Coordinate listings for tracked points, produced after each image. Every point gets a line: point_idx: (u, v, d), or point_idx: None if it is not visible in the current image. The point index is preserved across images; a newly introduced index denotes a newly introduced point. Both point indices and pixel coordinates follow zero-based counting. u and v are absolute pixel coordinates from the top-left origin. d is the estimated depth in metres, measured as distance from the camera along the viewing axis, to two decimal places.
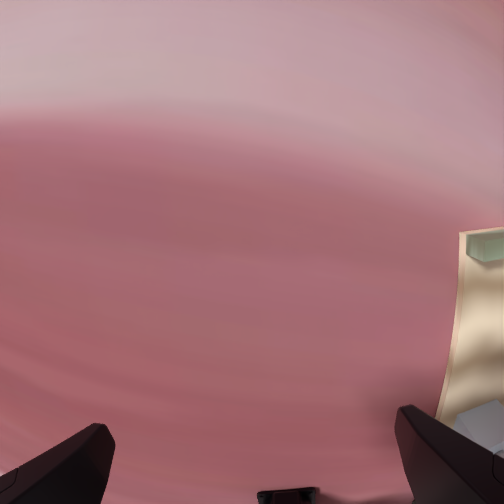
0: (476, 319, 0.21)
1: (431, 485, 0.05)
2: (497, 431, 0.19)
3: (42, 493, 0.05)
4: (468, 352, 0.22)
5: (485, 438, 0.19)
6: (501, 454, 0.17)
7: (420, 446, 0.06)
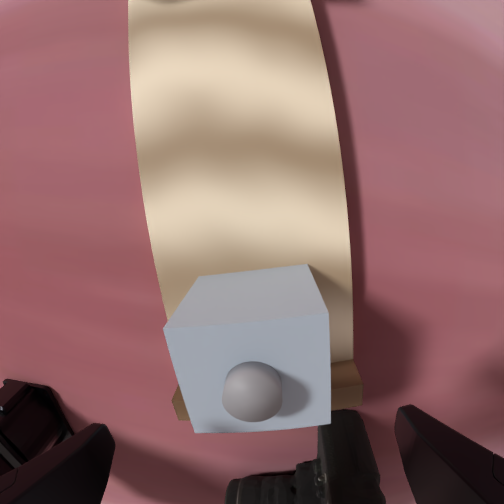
0: (162, 67, 0.14)
1: (431, 485, 0.05)
2: (247, 304, 0.12)
3: (42, 493, 0.05)
4: (162, 125, 0.14)
5: (202, 310, 0.12)
6: (249, 370, 0.10)
7: (420, 446, 0.06)
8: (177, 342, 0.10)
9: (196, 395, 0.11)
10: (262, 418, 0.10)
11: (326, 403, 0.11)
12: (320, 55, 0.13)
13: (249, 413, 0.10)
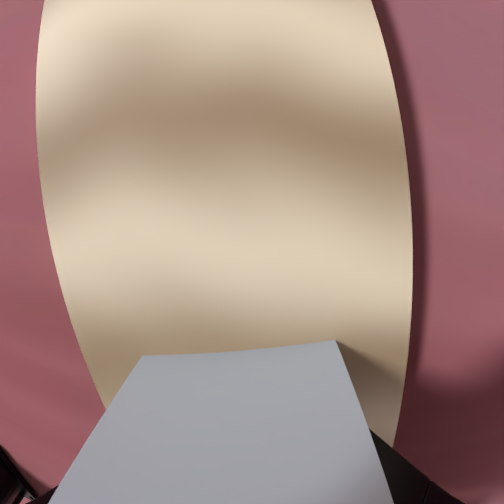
0: (86, 1, 0.06)
1: None
2: (212, 483, 0.04)
3: None
4: (75, 90, 0.07)
5: (117, 479, 0.04)
6: None
7: None
8: None
9: None
10: None
11: None
12: None
13: None
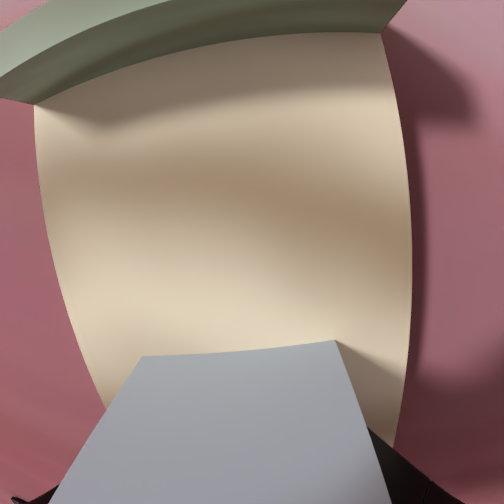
0: (111, 290, 0.08)
1: None
2: (210, 484, 0.04)
3: None
4: None
5: (116, 480, 0.04)
6: None
7: None
8: None
9: None
10: None
11: None
12: (406, 277, 0.08)
13: None
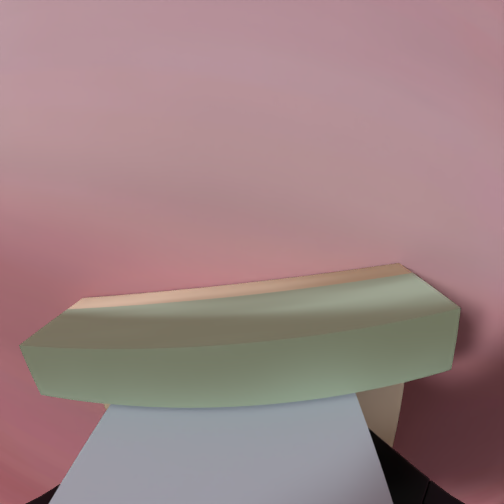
0: None
1: None
2: (212, 483, 0.04)
3: None
4: None
5: (118, 480, 0.04)
6: None
7: None
8: None
9: None
10: None
11: None
12: None
13: None
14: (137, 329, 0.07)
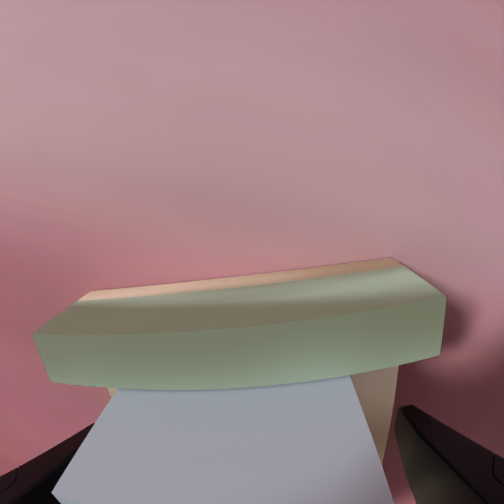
0: None
1: (431, 485, 0.05)
2: (215, 455, 0.05)
3: (42, 493, 0.05)
4: None
5: (126, 455, 0.05)
6: None
7: (420, 446, 0.06)
8: None
9: None
10: None
11: None
12: (380, 455, 0.10)
13: None
14: (145, 317, 0.07)
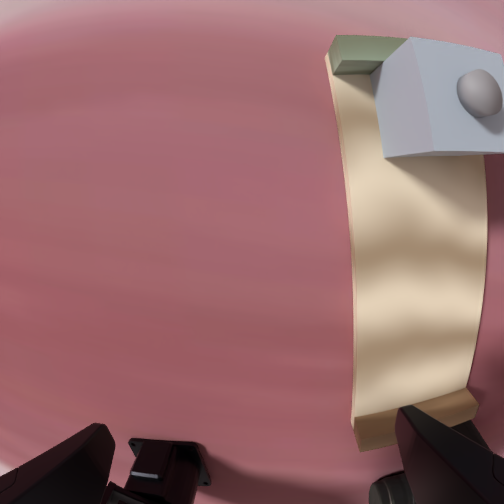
0: (379, 173, 0.17)
1: (431, 485, 0.05)
2: None
3: (42, 493, 0.05)
4: (379, 229, 0.17)
5: None
6: None
7: (420, 446, 0.06)
8: (421, 49, 0.09)
9: (437, 101, 0.10)
10: (492, 114, 0.09)
11: None
12: (484, 178, 0.16)
13: (486, 103, 0.09)
14: None
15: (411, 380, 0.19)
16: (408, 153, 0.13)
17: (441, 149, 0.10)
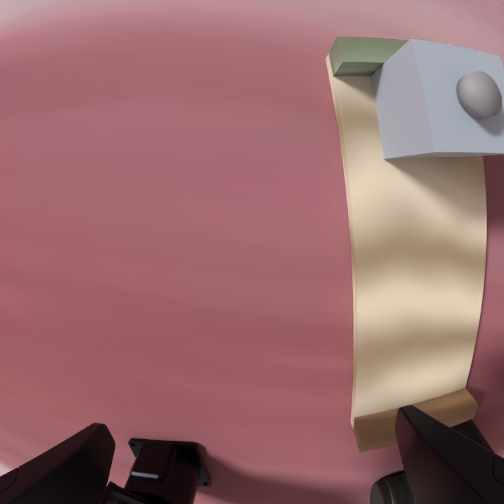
0: (379, 174, 0.17)
1: (431, 485, 0.05)
2: None
3: (42, 493, 0.05)
4: (379, 230, 0.17)
5: None
6: None
7: (420, 446, 0.06)
8: (421, 51, 0.10)
9: (436, 102, 0.10)
10: (492, 116, 0.09)
11: None
12: (483, 179, 0.16)
13: (486, 105, 0.09)
14: None
15: (411, 380, 0.20)
16: (408, 154, 0.13)
17: (441, 150, 0.11)
